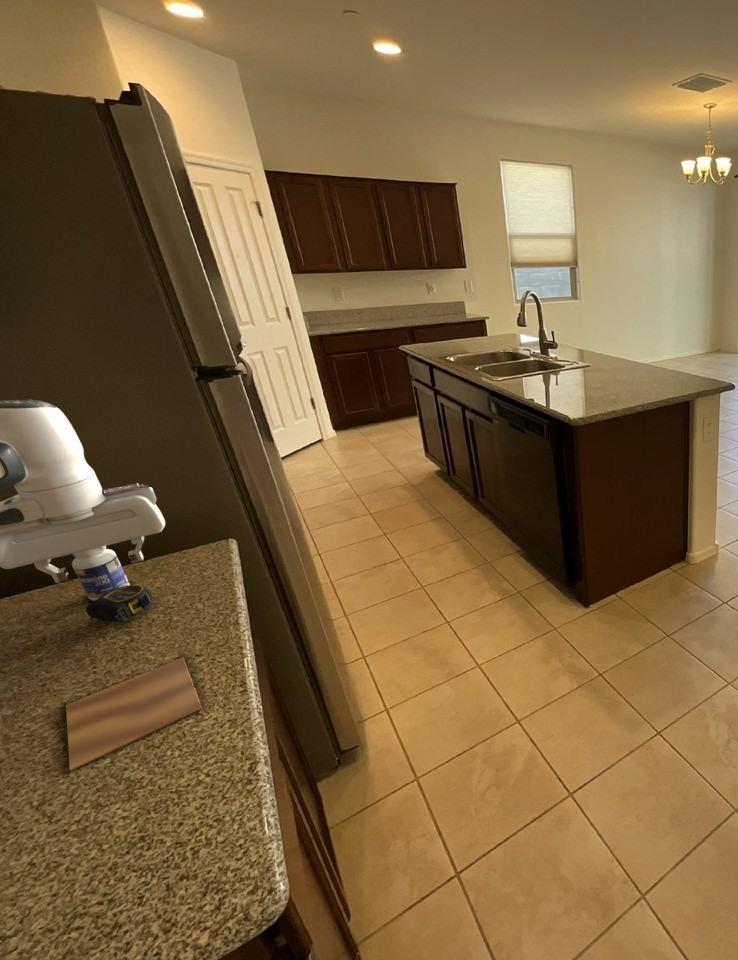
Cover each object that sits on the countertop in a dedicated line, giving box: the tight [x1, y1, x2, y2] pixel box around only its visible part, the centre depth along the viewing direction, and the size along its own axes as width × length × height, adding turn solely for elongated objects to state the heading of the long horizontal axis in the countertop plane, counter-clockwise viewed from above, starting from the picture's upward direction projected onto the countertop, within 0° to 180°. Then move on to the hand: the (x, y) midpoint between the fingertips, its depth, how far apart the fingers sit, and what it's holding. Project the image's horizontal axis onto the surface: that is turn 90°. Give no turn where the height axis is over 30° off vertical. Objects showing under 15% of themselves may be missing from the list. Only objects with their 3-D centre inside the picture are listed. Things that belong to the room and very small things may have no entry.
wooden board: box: [65, 657, 203, 772], centre depth 67 cm, size 14×12×1 cm
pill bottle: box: [71, 545, 130, 601], centre depth 90 cm, size 5×5×10 cm
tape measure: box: [85, 584, 154, 623], centre depth 85 cm, size 7×7×4 cm
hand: (101, 569), depth 90 cm, fingers open, 8 cm apart
